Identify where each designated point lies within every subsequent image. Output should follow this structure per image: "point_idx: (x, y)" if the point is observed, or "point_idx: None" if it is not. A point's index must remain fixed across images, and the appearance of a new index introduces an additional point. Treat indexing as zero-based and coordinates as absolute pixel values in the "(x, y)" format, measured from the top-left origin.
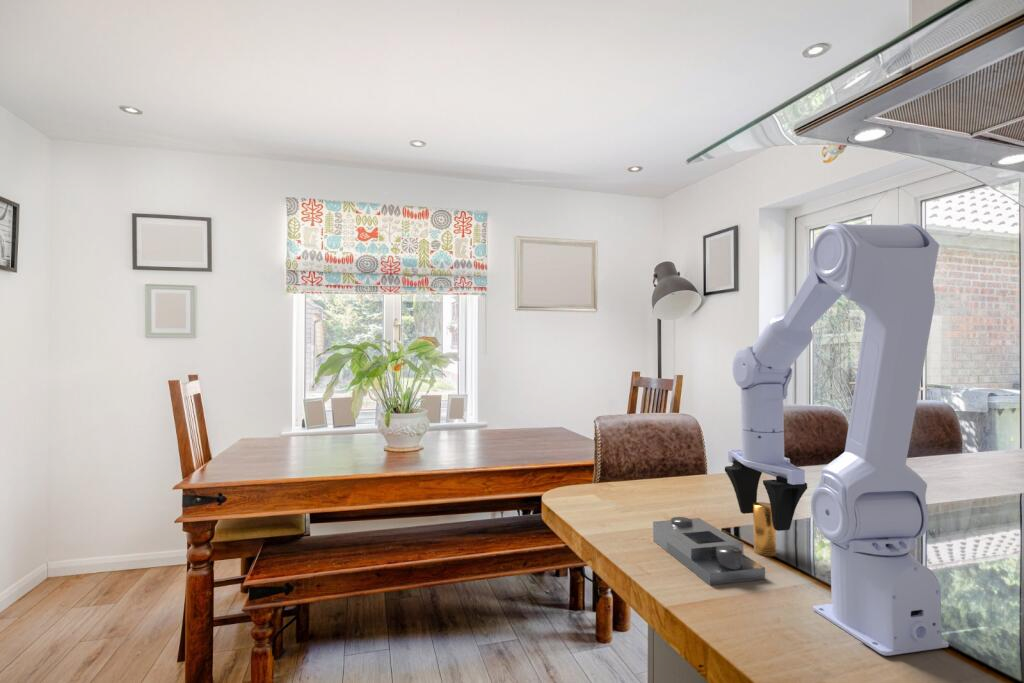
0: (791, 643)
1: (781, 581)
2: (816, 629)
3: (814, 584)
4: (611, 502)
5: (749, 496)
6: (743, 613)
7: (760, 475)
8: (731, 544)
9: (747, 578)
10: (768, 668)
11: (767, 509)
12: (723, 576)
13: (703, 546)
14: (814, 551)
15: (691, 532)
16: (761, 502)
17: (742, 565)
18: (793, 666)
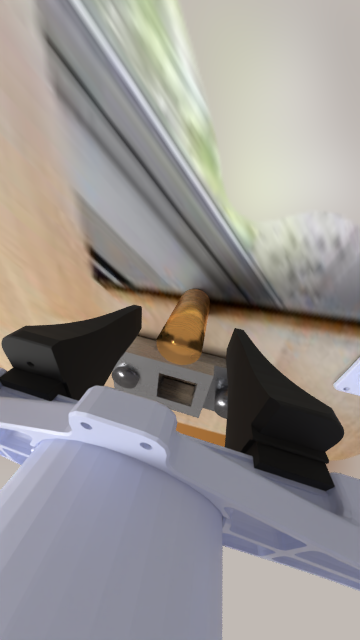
0: None
1: (266, 352)
2: (350, 406)
3: (299, 330)
4: (3, 331)
5: (123, 333)
6: None
7: (82, 336)
8: (208, 386)
9: None
10: (342, 455)
11: (199, 357)
12: None
13: (199, 408)
14: (223, 213)
15: (157, 388)
16: (159, 336)
17: None
18: (357, 448)
